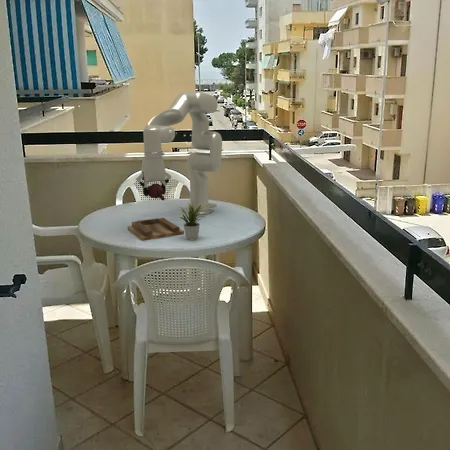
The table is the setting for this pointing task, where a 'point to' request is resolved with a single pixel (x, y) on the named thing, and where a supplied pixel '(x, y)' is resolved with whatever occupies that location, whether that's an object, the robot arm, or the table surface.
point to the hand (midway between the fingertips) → (154, 194)
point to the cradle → (154, 229)
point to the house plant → (191, 222)
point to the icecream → (155, 191)
